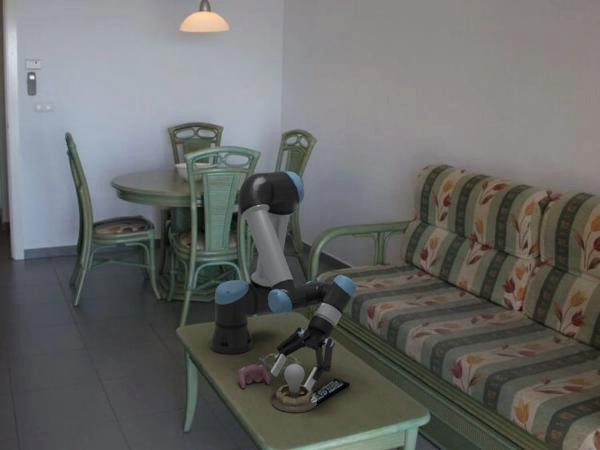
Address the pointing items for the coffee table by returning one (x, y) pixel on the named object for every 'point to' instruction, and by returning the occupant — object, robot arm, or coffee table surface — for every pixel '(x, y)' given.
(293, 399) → the socket
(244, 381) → the video game controller
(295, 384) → the lightbulb
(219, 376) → the coffee table surface
